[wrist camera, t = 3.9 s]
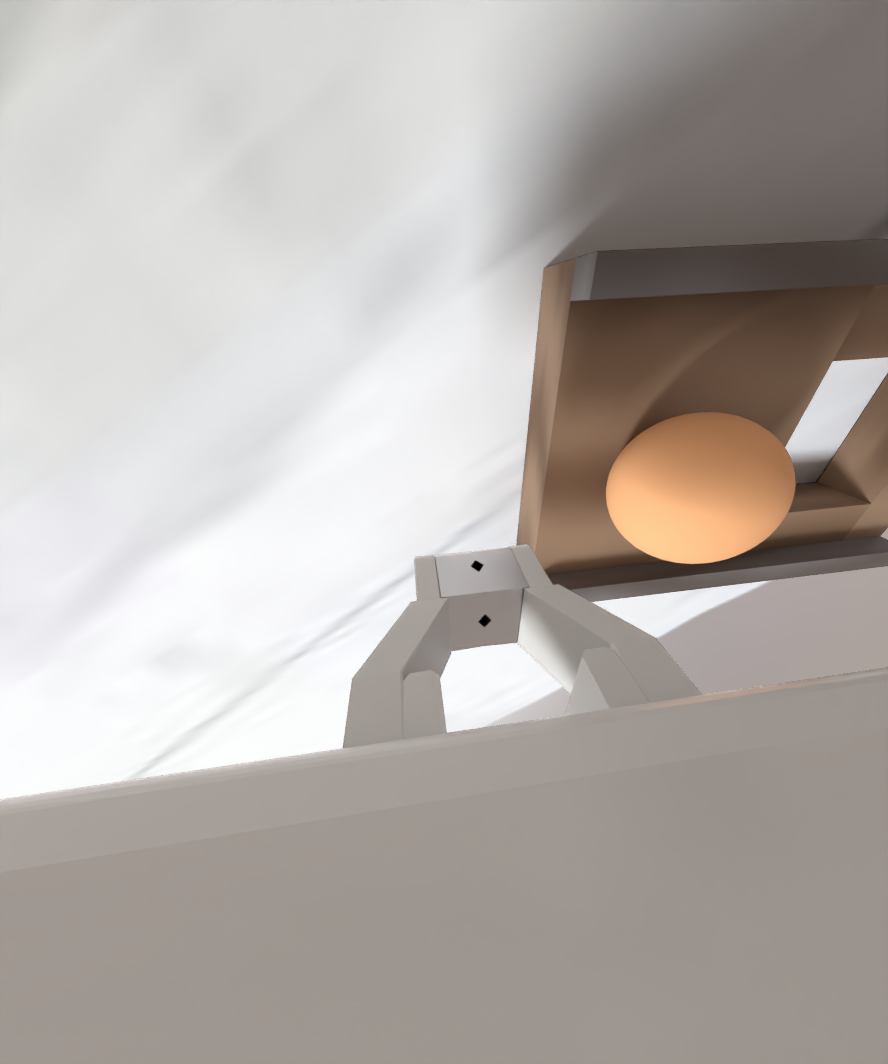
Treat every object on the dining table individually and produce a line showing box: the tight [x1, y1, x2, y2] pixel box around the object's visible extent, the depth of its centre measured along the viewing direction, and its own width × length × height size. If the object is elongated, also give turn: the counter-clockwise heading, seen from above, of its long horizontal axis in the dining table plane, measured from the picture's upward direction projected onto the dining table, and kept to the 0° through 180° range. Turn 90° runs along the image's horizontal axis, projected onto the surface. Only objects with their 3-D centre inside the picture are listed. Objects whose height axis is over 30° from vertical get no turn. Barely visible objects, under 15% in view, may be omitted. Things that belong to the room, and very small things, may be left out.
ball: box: [606, 412, 796, 564], centre depth 11 cm, size 5×5×5 cm
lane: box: [516, 239, 888, 602], centre depth 14 cm, size 13×19×4 cm
